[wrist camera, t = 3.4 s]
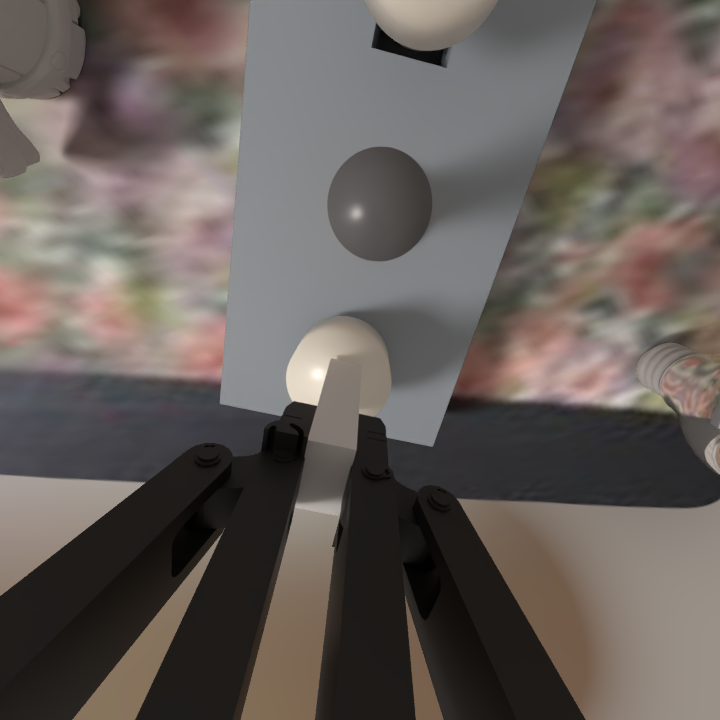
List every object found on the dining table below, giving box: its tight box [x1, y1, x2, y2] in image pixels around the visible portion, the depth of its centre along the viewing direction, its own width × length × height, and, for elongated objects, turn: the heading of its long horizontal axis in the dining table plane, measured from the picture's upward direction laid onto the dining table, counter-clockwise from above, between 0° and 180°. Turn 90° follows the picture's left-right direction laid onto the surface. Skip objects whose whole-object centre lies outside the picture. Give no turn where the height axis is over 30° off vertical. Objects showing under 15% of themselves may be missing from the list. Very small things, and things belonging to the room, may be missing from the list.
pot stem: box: [327, 146, 432, 262], centre depth 14 cm, size 4×4×7 cm
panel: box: [220, 0, 597, 447], centre depth 19 cm, size 14×26×4 cm, turn 167°
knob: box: [286, 316, 392, 417], centre depth 20 cm, size 5×5×7 cm
